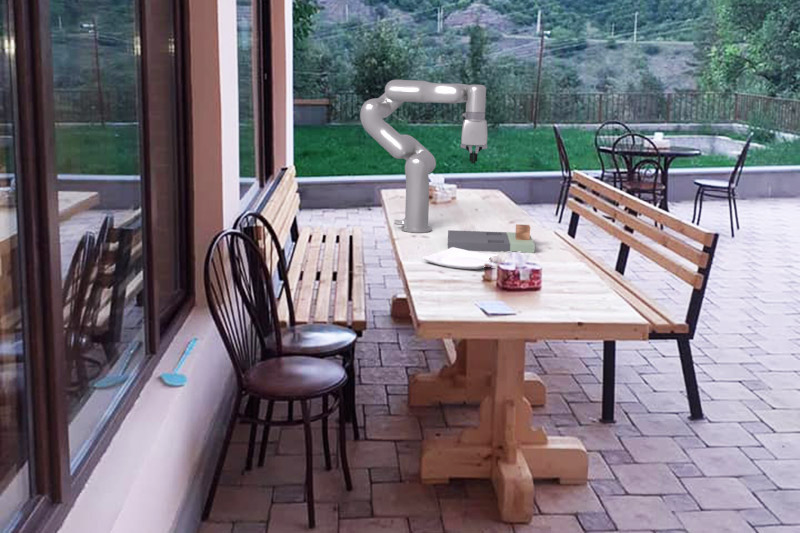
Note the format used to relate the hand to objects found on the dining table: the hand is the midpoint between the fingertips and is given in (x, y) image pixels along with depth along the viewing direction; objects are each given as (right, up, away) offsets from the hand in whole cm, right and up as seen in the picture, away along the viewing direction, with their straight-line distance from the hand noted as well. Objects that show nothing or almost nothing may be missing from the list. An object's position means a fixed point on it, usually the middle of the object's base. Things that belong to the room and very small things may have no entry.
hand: (473, 163), depth 361 cm
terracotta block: (+18, -31, -15) cm, 38 cm away
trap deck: (+5, -33, -13) cm, 36 cm away
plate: (-7, -40, -45) cm, 61 cm away
